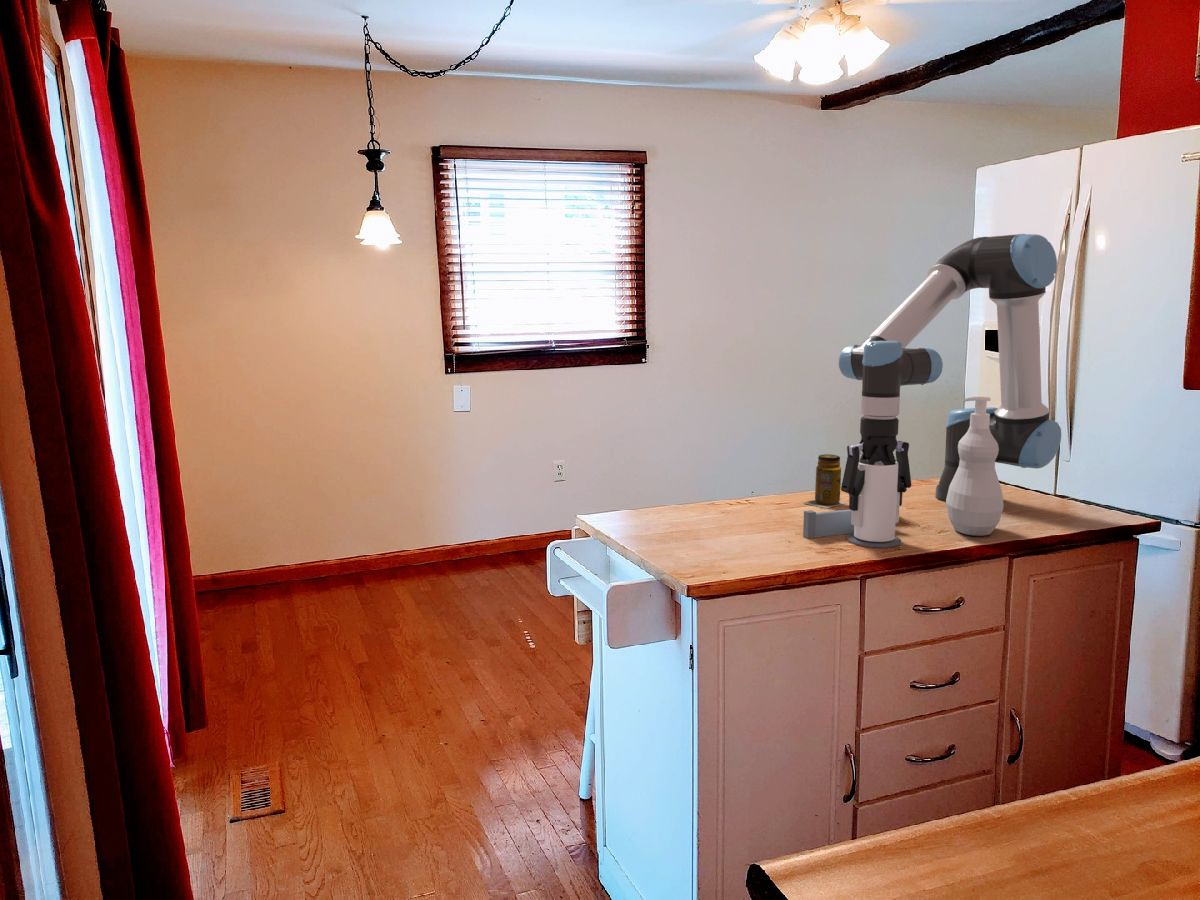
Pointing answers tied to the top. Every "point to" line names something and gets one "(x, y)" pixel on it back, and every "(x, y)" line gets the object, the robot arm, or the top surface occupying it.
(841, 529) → the grey barrier wall
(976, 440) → the soap bottle
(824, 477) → the condiment
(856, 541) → the slate coaster
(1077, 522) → the top surface
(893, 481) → the cup
